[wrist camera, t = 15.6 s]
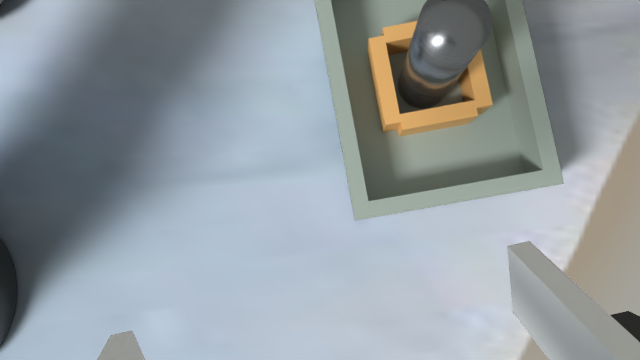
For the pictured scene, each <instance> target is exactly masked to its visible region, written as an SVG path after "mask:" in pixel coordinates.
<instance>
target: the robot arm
mask: <svg viewBox="0 0 640 360" xmlns="http://www.w3.org/2000/svg"><path fill="white" fill-rule="evenodd" d="M507 248H508V259H509V271H510V283H511V295H512V306H513V313H514V314H515V316H516V317H517V318H518V320H519V321H520V322H521V324H522V325H523V326H524V327H525V329H526V330H527V331H528V333H529V334H530V335H531V337H532V338H533V339H534V340H535V342H536V343H537V344H538V346H539V347H540V348H541V349H542V351H543V352H544V353H545V355H546V356H547V357H548V359H549V360H640V316H637V315H636V314H633V313H631V312H629V311H626V312H622V313H618V314H613V315H609V314H608V313H607V312H606V311H605V310H604V309H603V308H602V307H601V306H600V305H599V304H597V303H596V302H595V301H594V300H593V299H592V298H591V297H590V296H589V295H588V294H587V293H585V292H584V291H583V290H582V289H581V288H580V287H579V286H578V285H577V284H575V282H573V281H572V280H571V279H570V278H569V277H568V276H567V275H566V274H565V273H564V272H563V271H561V270H560V269H559V268H558V267H557V266H556V265H555V264H554V263H553V262H552V261H551V260H550V259H548V258H547V257H546V256H545V255H544V254H543V253H542V252H541V251H540V250H539V249H538V248H536V247H535V246H534V245H533V244H532V243H531V242H530V241H528V242H523V243H519V244H514V245H510V246H507ZM16 297H17V285H16V276H15V271H14V266H13V263H12V260H11V257H10V255H9V253H8V251H7V249H6V247H5V245H4V243H3V242H2V240H1V239H0V345H1V343H2V341H3V340H4V338H5V336H6V334H7V332H8V330H9V328H10V325H11V322H12V319H13V315H14V311H15V306H16ZM97 360H145V358H144V356H143V354H142V352H141V349H140V347H139V345H138V342H137V340H136V338H135V335H134V333H133V331H128V332H123V333H119V334H115V335H111V336H110V337H109V339H108V341H107V343H106V345H105V346H104V348H103V350H102V352H101V354H100V355H99V357H98V359H97Z"/></svg>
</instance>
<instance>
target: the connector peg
mask: <svg viewBox="0 0 640 360" xmlns="http://www.w3.org/2000/svg"><path fill="white" fill-rule="evenodd" d="M491 29H492V14H491V11H490V8H489V6H488V5H487V3H486V2H485V0H427V1H426V2H425V4H424V5H423V7H422V9H421V12H420V15H419V18H418V21H417V24H416V27H415V30H414V33H413V36H412V39H411V43H410V46H409V49H408V52H407V55H406V58H405V61H404V64H403V67H402V70H401V73H400V76H399V80H398V89H399V93H400V95H401V97H402V98H403V100H404V101H405V102H406V103H408V104H409V105H411V106H413V107H416V108H421V109H424V108H430V107H433V106H435V105H437V104H438V103H439V102H440V101H441V100H442V99H443V98H444V97H445V95H446V94H447V93H448V91H449V90H450V89H451V87H452V86H453V85H454V83H455V82H456V81H457V79H458V78H459V77H460V75H461V74H462V73H463V71H464V70H465V69H466V67H467V66H468V65H469V63H470V62H471V61H472V60H473V58H474V57H475V56H476V54H477V53H478V52H479V50H480V49H481V48H482V46H483V45H484V44H485V42H486V41H487V39H488V38H489V35H490V33H491Z"/></svg>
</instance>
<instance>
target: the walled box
mask: <svg viewBox="0 0 640 360" xmlns="http://www.w3.org/2000/svg"><path fill="white" fill-rule="evenodd" d="M426 1H427V0H315V5H316V10H317V16H318V21H319V26H320V32H321V37H322V43H323V48H324V54H325V59H326V65H327V70H328V76H329V81H330V87H331V92H332V97H333V103H334V108H335V114H336V119H337V125H338V130H339V136H340V141H341V147H342V152H343V158H344V163H345V168H346V174H347V179H348V185H349V190H350V196H351V201H352V207H353V212H354V218H355V220H361V219H367V218H372V217H378V216H384V215H389V214H395V213H401V212H406V211H412V210H418V209H423V208H429V207H434V206H440V205H446V204H451V203H457V202H463V201H468V200H474V199H480V198H485V197H491V196H497V195H502V194H508V193H514V192H519V191H525V190H531V189H536V188H542V187H547V186H553V185H559V184H564V182H563V177H562V173H561V168H560V164H559V160H558V155H557V151H556V146H555V142H554V138H553V133H552V129H551V124H550V120H549V116H548V111H547V107H546V102H545V98H544V94H543V89H542V85H541V80H540V76H539V72H538V67H537V63H536V58H535V54H534V50H533V45H532V41H531V36H530V32H529V28H528V23H527V19H526V14H525V10H524V6H523V1H522V0H485V2H486V3H487V5H488V6H489V8H490V11H491V14H492V29H491V33H490V35H489V38H488V39H487V41H486V42H485V44H484V45H483V46H482V48H481V49H480V50H479V52H478V53H477V54H476V56H475V57H474V58H473V60H472V61H471V62H470V63H469V65H468V66H467V67H466V69H465V70H464V71H463V73H462V74H461V75H460V77H459V78H458V79H457V81H456V82H455V83H454V85H453V86H452V87H451V89H450V90H449V91H448V93H447V94H446V95H445V97H444V98H443V99H442V100H441V101H440V102H439V103H438V104H437V105H435V106H433V107H430V108H424V109H421V108H416V107H413V106H411V105H409V104H408V103H406V102H405V101H404V100H403V98H402V97H401V95H400V93H399V89H398V80H399V76H400V73H401V70H402V67H403V64H404V61H405V58H406V55H407V52H408V49H409V46H410V43H411V39H412V36H413V33H414V30H415V27H416V24H417V21H418V18H419V15H420V12H421V9H422V7H423V5H424V4H425V2H426Z"/></svg>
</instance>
